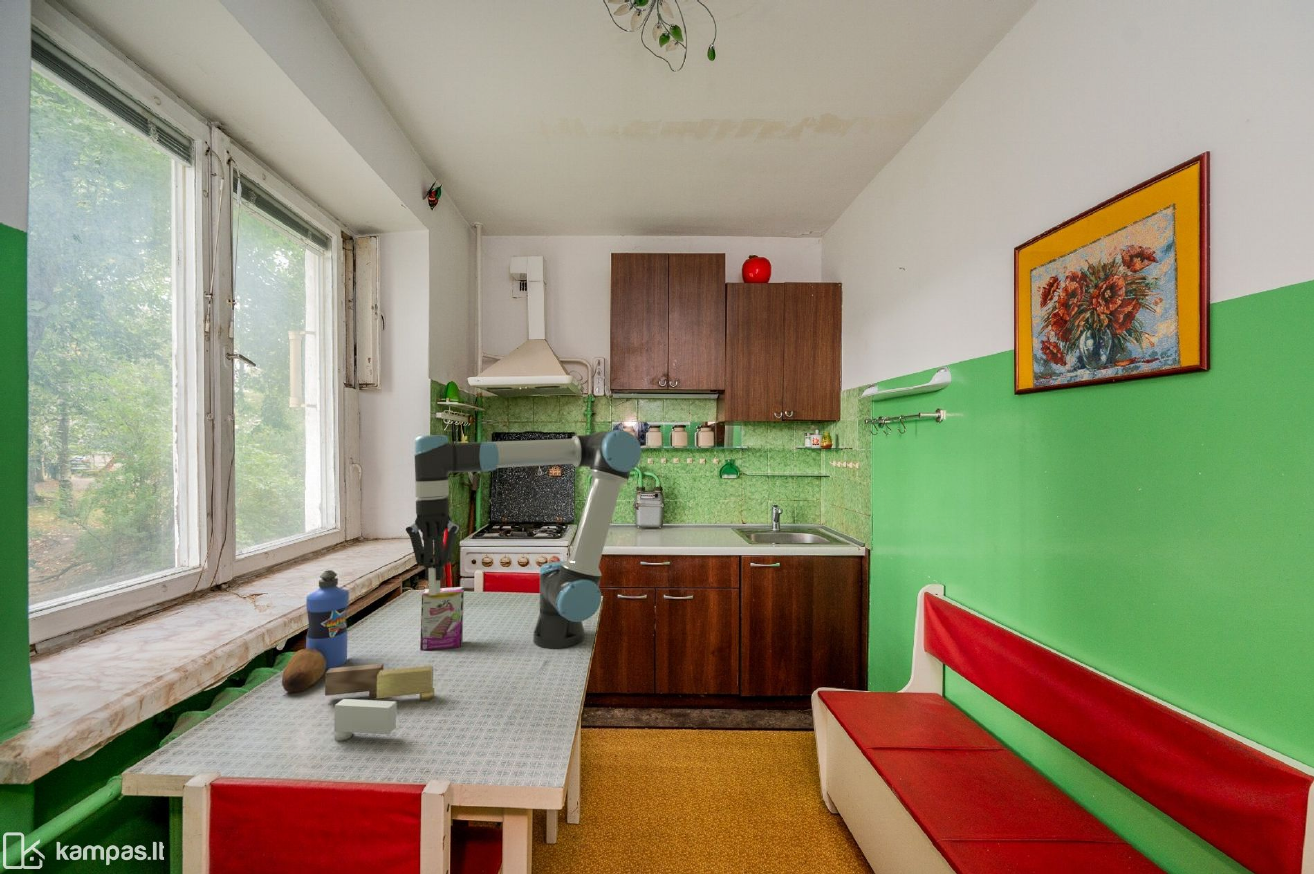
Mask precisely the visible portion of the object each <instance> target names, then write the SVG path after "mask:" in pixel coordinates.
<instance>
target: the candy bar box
mask: <svg viewBox="0 0 1314 874" xmlns="http://www.w3.org/2000/svg"><path fill="white" fill-rule="evenodd" d="M464 598H465V587H464V586H457V587H456V586H455V587H442V588H441V587H440V592H439V593H438V594H436V595H429V588H424V589H423V591H422V593H421V611H420V613H421V614H420V619H421V620H420V644H419V647H420V649H419V650H420V652H423V651H425V652H426V651H434V650H435V651H436V650H443V649H444V650H445V649H452V648H455V649H456V648H461V647H462V644H463V641H464V639H463V637H464V601H465V600H464Z"/></svg>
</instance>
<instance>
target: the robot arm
mask: <svg viewBox="0 0 1314 874" xmlns="http://www.w3.org/2000/svg"><path fill="white" fill-rule="evenodd" d="M641 447H642V446H641V444H640V442H639V440H638V438H637V437H636V436H635V435H634V434H632V433H631V432H630V431H627V430H620V429H613V430H604V431H599V432H594V433H589V434H584V435H581V434H579V435H573V436H572V438H568V439H567V438H566V439H565V438H564V439H563V438H562V439H537V440H536V439H535V440H533V439H532V440H511V441H509V440H506V441H472V442H469V441H467V442H449V438H448V436H447V435H444V434H443V435H442V434H438V435H436V434H431V435H429V434H427V435H418V436H417V437H416V438H415V439H414V478H415V483H414V484H415V498H418V499H416V501H415V514H416V517H415V519H414V520H415V521H414V523H413V524H411V525H410V526H407V527H406V528H405V531H406V533H407V534H408V536H409V538H410V543H411V546H412V550H413V554H414V557H415V562H416V564H417V566H422V567H424V574H425V576H424V577H425V581H426V582H427V581H428V589H429V595H436V594H438V593H439V592H440V588H441V581H442V580H443V578H444V566H446V565H448V564H450V563H451V561H452V557H453V552H454V548H455V543H456V539H457V538H456V537H457V534H458V533H459V531H460V529H461V525H460V524H455V523H454V522H452V519H451V517H450V498H449V497H448V496H449V492H450V491H449V490H450V489H449V488H450V487H449V485H450V483H449V480H450V479H449V474H450V473H451V474H452V473H468V472H469V473H472V472H482V473H483V472H484V473H485V472H488V471H489V472H490V471H491V472H492V471H496V470H497V469H498V468H515V467H516V468H517V467H519V468H520V467H535V466H536V467H538V466H549V465H550V466H552V465H553V466H554V465H573V466H574V467H577V468H579V467H587V468H589V473H590V474H591V477H592V479H591V482H590V486H589V490H588V492H587V495H586V500H585V501H584V502H585V503H584V506H583V510H582V514H581V516H580V519H579V524H578V527H577V531H576V534H575V536H574V541H573V543H572V544H573V545H572V548H571V550H570V555H569V557H568V559H567V560H564V561H563V560H562V561H559V560H558V561H552V562H547V563H543V564H542V565H541V566H540V570H539V571H540V572H539V615H538V618H537V621H536V624H535V627H534V631H533V634H532V635H533V636H532V638H533V640H532V641H533V644H535V645H536V646H537V647H541V648H547V649H562V648H568V647H573V646H575V645H578V644H580V643H582V641H583V640H585V628H584V625H583V624H584V623H583V622H584V621H586V620H588V619H589V618H591V617H592V616H594V615H595V614H596V613H597V611H598V610H599V608H600V606H601V601H602V593H601V590H600V588H599V586H600V582H601V578H602V576H603V575H602V572H601V570H600V568H599V565H600V562H601V560H602V559H601V558H602V555H603V551H604V548H605V544H606V541H607V537H608V534H609V530H610V527H611V523H612V519H613V516H614V512H615V508H616V505H617V501H618V498H619V494H620V491H621V488H622V487H621V486H622V485H624V484H625V483H627V482H628V481H629V478H630V475H631V472H632V470H633V469H635V468H636V467H637V466H638V465H639V463H640V461H641V457H642V448H641ZM446 530H447V536H446V539H445V544H444V538H445V532H446ZM420 532H421V533H420ZM421 534H422V537H421Z"/></svg>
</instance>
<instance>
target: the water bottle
mask: <svg viewBox="0 0 1314 874" xmlns="http://www.w3.org/2000/svg"><path fill="white" fill-rule="evenodd" d="M337 576H338V573H336V572H335V571H334V570H325V571H323V573H322V574H321V575H319V578H320V579H319V580H318V587H319V588H318V589H317V590H315V591H314V592H311V593H310V594H308V595H307V596H306V602H305V603H306V607H305V609H306V613H307V620H308V628H307V633H306V637H305V638H306V641H305V642H306V645H305V648H308V649H316V650H317V651H319V652H320V653H322V655H323V657H324V659H325V661H326V668H325V672H324V673H323V675H326V672H327V671H328V670H329V669H330V668H338V667H340V666H342V665H343V664H344V663H346V662H347V660H348V627H347V612H348V606H349V603H350V599H349V598H350V590H348V589H344V588H341V587H339V586H338V585H339V578H338V577H337Z"/></svg>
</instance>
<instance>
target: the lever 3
mask: <svg viewBox="0 0 1314 874" xmlns="http://www.w3.org/2000/svg"><path fill="white" fill-rule="evenodd" d="M410 695H419V701H422V702H428V701H431V700H433V699H434V698H435V688H434V665H426V666H416V667H415V666H414V667H406V668H405V667H404V668H395V669H394V668H393V669H392V668H391V669H383V670H380V672H379V673H378V675H377V698H376V699H382V698H390V697H391V698H393V697H401V696H402V697H403V696H404V697H405V696H410Z"/></svg>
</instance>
